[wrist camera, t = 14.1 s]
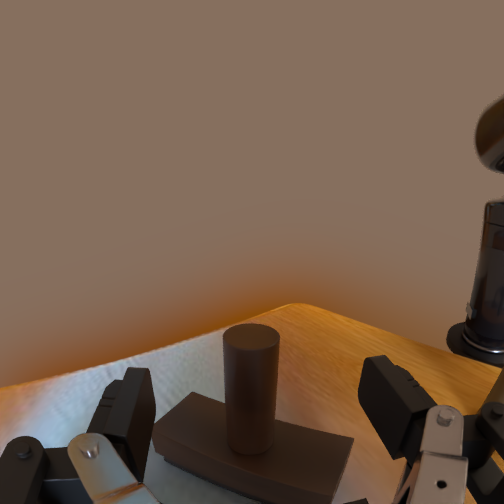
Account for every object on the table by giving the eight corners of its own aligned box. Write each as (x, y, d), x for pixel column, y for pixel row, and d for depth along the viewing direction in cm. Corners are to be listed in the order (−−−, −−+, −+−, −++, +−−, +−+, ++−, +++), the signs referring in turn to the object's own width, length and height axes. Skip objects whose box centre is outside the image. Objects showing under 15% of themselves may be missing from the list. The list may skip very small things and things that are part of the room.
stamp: (196, 423, 23) (184, 297, 20) (344, 469, 18) (378, 335, 15) (157, 460, 19) (128, 326, 16) (322, 524, 14) (364, 391, 11)
